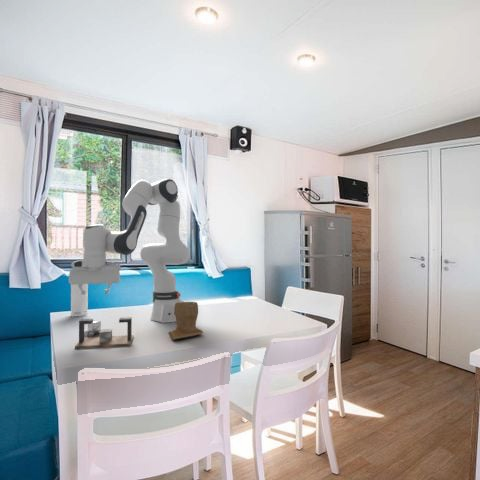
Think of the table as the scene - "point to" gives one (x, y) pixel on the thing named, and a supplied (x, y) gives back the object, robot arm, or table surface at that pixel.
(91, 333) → the grey crossbar piece
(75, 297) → the bottle
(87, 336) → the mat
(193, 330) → the brown upright based slab
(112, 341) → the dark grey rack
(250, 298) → the table surface
